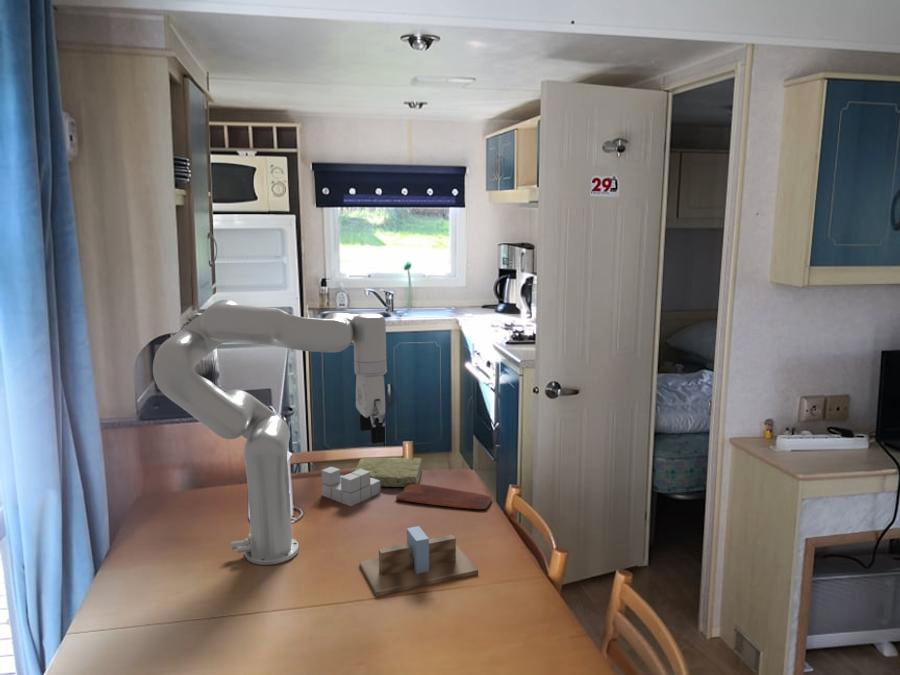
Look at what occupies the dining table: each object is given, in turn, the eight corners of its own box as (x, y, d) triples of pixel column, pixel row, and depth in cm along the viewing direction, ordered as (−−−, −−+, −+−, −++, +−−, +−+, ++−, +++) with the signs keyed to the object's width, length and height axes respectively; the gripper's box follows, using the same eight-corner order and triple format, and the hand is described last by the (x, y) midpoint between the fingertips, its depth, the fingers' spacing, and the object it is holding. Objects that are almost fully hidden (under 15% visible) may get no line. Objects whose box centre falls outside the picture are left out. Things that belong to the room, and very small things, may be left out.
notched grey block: (429, 571, 155) (428, 538, 153) (416, 573, 154) (416, 541, 152) (419, 557, 161) (418, 526, 159) (407, 560, 160) (406, 528, 158)
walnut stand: (376, 596, 146) (375, 568, 145) (359, 565, 159) (358, 539, 158) (478, 573, 155) (478, 547, 154) (454, 546, 168) (454, 521, 167)
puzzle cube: (380, 492, 200) (380, 467, 198) (351, 507, 191) (350, 480, 189) (352, 483, 207) (351, 458, 206) (322, 496, 198) (321, 470, 196)
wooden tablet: (394, 501, 193) (393, 496, 193) (406, 486, 203) (406, 481, 202) (485, 513, 186) (485, 508, 185) (493, 496, 195) (493, 491, 195)
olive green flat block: (358, 454, 220) (420, 448, 219) (361, 472, 221) (422, 465, 220) (348, 477, 201) (415, 470, 200) (351, 496, 202) (418, 489, 201)
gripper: (346, 360, 167) (348, 427, 170) (364, 376, 151) (366, 449, 154) (375, 357, 169) (377, 423, 173) (397, 373, 154) (398, 445, 157)
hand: (372, 436), depth 163 cm, fingers open, 9 cm apart
